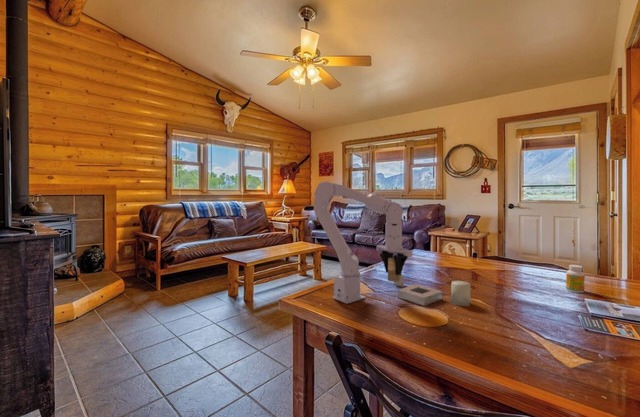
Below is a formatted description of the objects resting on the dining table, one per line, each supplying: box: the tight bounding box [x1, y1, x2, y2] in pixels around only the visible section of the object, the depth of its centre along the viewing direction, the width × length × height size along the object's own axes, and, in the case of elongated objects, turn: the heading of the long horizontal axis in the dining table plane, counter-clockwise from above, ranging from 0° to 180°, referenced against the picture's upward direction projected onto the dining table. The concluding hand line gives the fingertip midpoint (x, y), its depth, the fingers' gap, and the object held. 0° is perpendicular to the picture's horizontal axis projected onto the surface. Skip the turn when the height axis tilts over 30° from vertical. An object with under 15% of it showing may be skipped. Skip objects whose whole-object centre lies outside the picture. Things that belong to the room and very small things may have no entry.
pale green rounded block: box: [450, 280, 471, 307], centre depth 107 cm, size 6×6×7 cm
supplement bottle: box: [565, 264, 586, 294], centre depth 118 cm, size 5×5×10 cm
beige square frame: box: [397, 283, 443, 307], centre depth 112 cm, size 11×11×3 cm
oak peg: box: [387, 257, 399, 283], centre depth 111 cm, size 4×4×8 cm
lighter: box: [393, 273, 405, 288], centre depth 129 cm, size 7×2×8 cm, turn 44°
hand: (393, 273), depth 111 cm, fingers closed on oak peg, 4 cm apart
